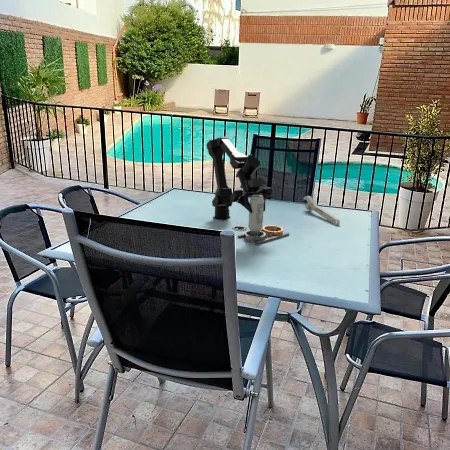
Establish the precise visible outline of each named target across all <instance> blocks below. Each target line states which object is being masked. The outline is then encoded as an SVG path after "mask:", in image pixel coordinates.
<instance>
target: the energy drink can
mask: <svg viewBox="0 0 450 450" xmlns="http://www.w3.org/2000/svg"><path fill="white" fill-rule="evenodd" d="M249 203H250V206H251V208H252V213H250V212H249V211H248V230H251V231H261V229H262V228H263V226H264V225H263V223H264V222H263V221H264V212H265V211H264V199H263V196H262V195H252V197H250V199H249ZM263 211H264V212H263Z"/></svg>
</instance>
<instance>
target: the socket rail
mask: <svg viewBox="0 0 450 450" xmlns="http://www.w3.org/2000/svg"><path fill="white" fill-rule="evenodd" d="M288 236H290V232H285V233H284V228H283V227H281V226H279V225H273V224H272V225H271V224H270V225H263V226H262V229H261V231H251V230H250V229H248V230H245V231H244V232H243V233H241V234H237V238H238V239H242V238H243V239H244V241H246V242H249V243H253V244H254V245H255V246H259V245H262V244H265V243H268V242H272V241H276V240H278V239H281V238H285V237H288ZM241 237H242V238H241Z"/></svg>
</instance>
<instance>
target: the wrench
mask: <svg viewBox="0 0 450 450" xmlns="http://www.w3.org/2000/svg"><path fill="white" fill-rule="evenodd" d="M303 200H306V201H307V204H304V207H305V209H306V210H307V213H310V212H311V213H312V212H315V213H317V214H318V215H319V216H321V217H322V218H324V219H326V220H327V221H328V222H330V223H331V224H333V225H334V224H335V226H339V225H340V224H341V221H340V220H339V219H340V218H337V217H335V216H334V215H332V214H331V213H330V212H327V211H326V210H324V209H323V208H322V207H320V206H319V205H317V204H316V202H315V201H314V200H313V197H311V195H306V196H304V197H303Z"/></svg>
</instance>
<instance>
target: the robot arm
mask: <svg viewBox="0 0 450 450" xmlns="http://www.w3.org/2000/svg"><path fill="white" fill-rule="evenodd" d="M206 149H207V153H208V156H210V157H211V159H212V163H213V169H214V175H215V181H216V189H215V192H214V198H213V199H212V201H211V203H212V207H214V216H212V219H214V220H220V221H225V220H229V219H230V218H231V216H230V207H232V205H233V203H237V204H239V205H241V206H242V207H243V208H244V209H246V210H247V211H248V213H249V212H250V213H252V208H251V206H250V199H249V198H251V197H252V195H262V196H263V199H264V211H263V213H264V212H266V200H267V199H269V198H270V197H271V196H272V194H273V193H274V191H273V188H272V187H264V185H266V184H267V181H266V177H265V176H260V177H258V178H253V174H255V172H256V171H257V170H258V169H259V168H260V166H261V161H260V159H258V158H257V157H256V156H254V154H248V155H246V154H244V153H242V152H240V151H238V149H237V148H236V147H235V145H234V144H233V143H232V142H231V141H230V138H229V137H227V136H219V137H217V138H214V139H209V140H208V142H207V143H206ZM224 154H226V155H227V156H228V158H229V165H230V166H231V168H232V169H234V170H238V171H236V175H235V178H238V179H239V182H240V186H239V187H240V189H236V190H233V189H232V188H231V187H229V186H228V181H227V177H226V176H227V175H226V170H225V164H224V159H223V157H224ZM260 187H263V188H262V189H261V190H260ZM258 190H259V191H258Z"/></svg>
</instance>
